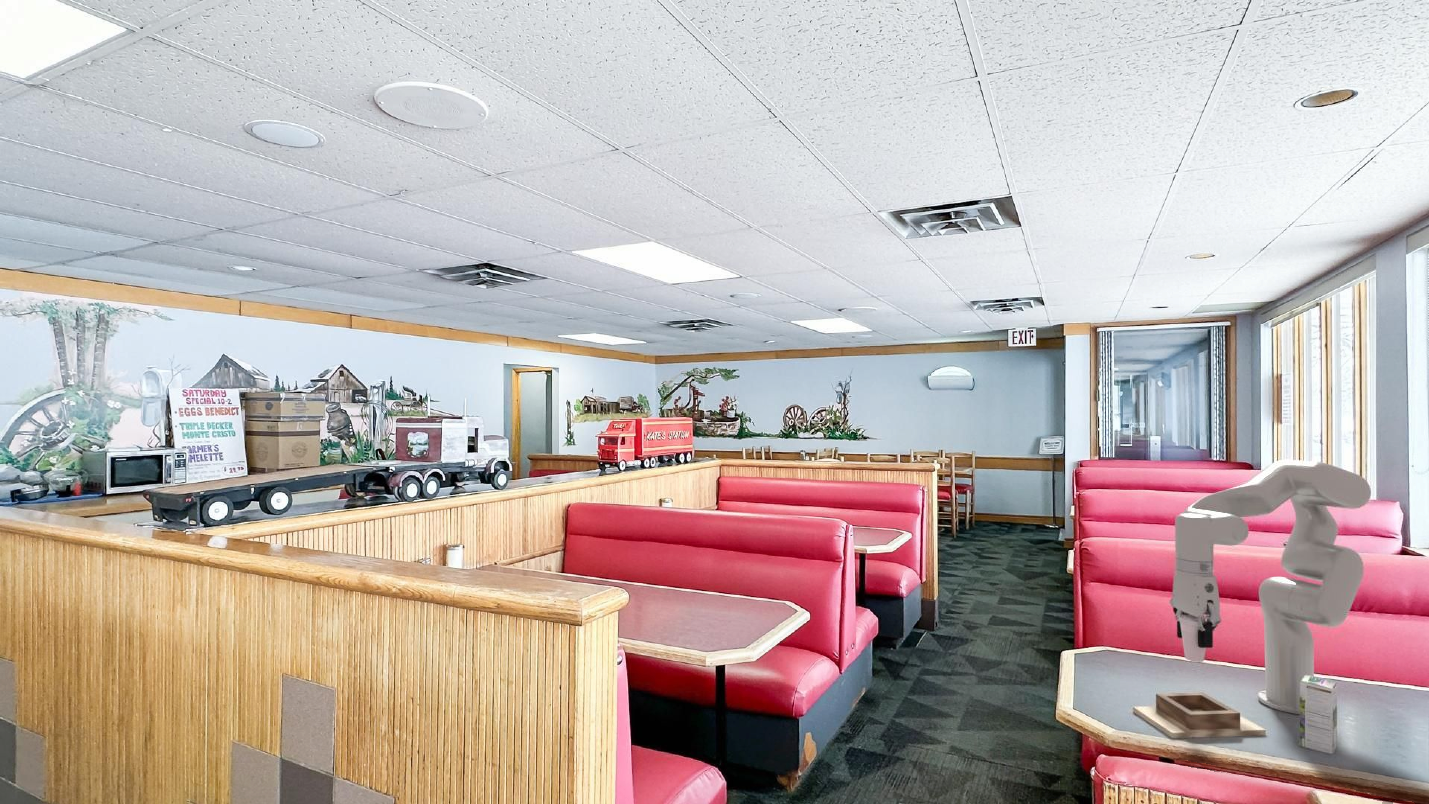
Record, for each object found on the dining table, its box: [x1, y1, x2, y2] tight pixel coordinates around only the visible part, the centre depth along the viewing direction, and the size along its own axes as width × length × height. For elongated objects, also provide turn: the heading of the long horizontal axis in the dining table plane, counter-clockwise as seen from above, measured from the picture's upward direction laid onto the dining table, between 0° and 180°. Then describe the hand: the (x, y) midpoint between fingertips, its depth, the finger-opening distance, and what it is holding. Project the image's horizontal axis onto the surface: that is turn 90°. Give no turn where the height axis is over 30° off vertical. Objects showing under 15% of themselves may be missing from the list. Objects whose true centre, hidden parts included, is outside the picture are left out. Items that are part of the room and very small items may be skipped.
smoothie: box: [1178, 615, 1207, 663], centre depth 168 cm, size 6×6×14 cm
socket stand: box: [1132, 691, 1267, 739], centre depth 168 cm, size 22×14×5 cm, turn 93°
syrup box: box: [1299, 675, 1338, 755], centre depth 156 cm, size 6×6×14 cm
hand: (1194, 641), depth 168 cm, fingers closed on smoothie, 6 cm apart
